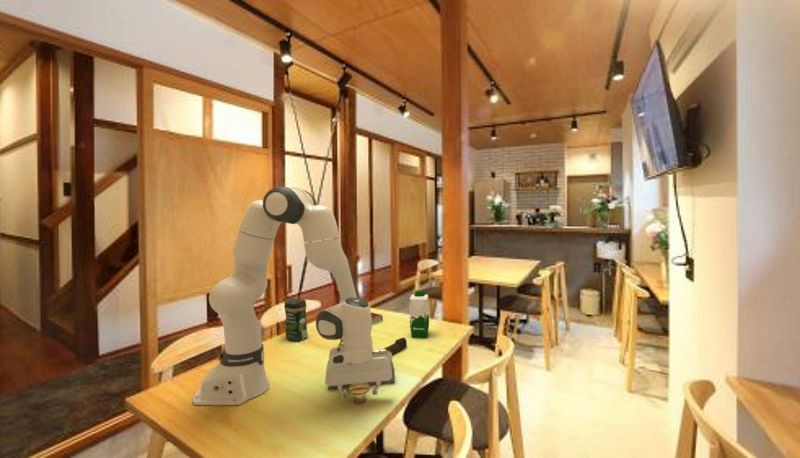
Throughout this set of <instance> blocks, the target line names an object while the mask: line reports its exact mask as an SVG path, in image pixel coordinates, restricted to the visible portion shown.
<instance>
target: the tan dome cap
mask: <svg viewBox="0 0 800 458" xmlns="http://www.w3.org/2000/svg"><path fill="white" fill-rule="evenodd" d="M370 389H371V385H369V384H368V383H357V384H351V385H350V386H349V387H348V392H349V393H350V394H352V395H353V402H354V404H355V405H362V404H365V403H366V402H367V401H366V400H367V399H366V398H367V396H366V394H367V393H368V392H370Z"/></svg>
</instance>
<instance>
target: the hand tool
mask: <svg viewBox="0 0 800 458" xmlns="http://www.w3.org/2000/svg"><path fill="white" fill-rule="evenodd" d="M407 343H408V342H407V339H406V337H401V338H398V339H396V340H395V341H394V343H392V344H390V345H388V346H386V347H384V348H381V350H384V349H386V350H387V351H390V352H391V353H392V355H394V354H396V353H397V352H402V351H403V350H404V349H406V347H407Z"/></svg>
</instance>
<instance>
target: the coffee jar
mask: <svg viewBox="0 0 800 458" xmlns="http://www.w3.org/2000/svg"><path fill="white" fill-rule="evenodd" d="M306 311H307V301H306V300H305V299H302V298H295V297H290V298H287V299H285V301H284V312H285V338H286V339H287V340H289V341H293V342H299V341H304V340H306V339H307V338H308V334H309V333H308V326H307V316H306V315H307V314H306V313H307V312H306Z"/></svg>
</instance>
